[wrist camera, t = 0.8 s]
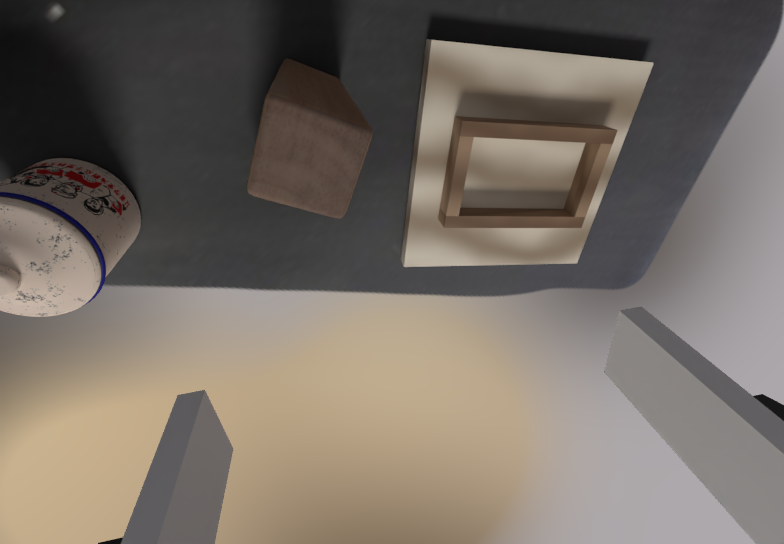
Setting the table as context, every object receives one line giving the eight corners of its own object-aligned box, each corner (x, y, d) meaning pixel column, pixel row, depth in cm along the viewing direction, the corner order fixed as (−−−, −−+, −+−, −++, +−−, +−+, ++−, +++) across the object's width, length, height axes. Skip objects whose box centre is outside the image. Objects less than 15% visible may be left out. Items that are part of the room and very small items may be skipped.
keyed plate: (426, 39, 31) (439, 40, 28) (641, 61, 35) (672, 64, 32) (400, 259, 41) (408, 277, 38) (569, 256, 46) (587, 272, 43)
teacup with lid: (156, 181, 33) (95, 247, 23) (134, 268, 36) (73, 357, 27) (-29, 114, 28) (-203, 162, 18) (-34, 222, 32) (-181, 309, 22)
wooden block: (311, 183, 35) (317, 300, 20) (259, 167, 34) (225, 282, 19) (341, 78, 31) (376, 129, 16) (284, 56, 30) (266, 88, 15)
